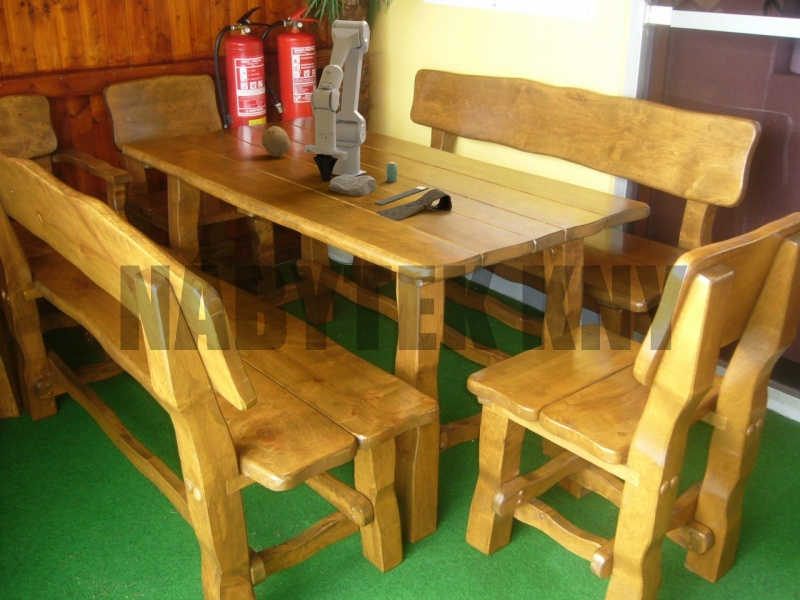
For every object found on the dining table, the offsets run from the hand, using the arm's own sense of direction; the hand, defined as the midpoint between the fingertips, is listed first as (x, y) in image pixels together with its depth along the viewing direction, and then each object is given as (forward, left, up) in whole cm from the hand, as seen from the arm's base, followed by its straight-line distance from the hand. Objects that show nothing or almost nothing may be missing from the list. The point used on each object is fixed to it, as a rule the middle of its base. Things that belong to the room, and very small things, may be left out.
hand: (326, 180), depth 234 cm
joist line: (+22, +7, -2) cm, 23 cm away
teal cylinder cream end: (+10, +18, -2) cm, 21 cm away
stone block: (+7, +2, -2) cm, 8 cm away
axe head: (+33, -4, -3) cm, 34 cm away
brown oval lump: (-37, +18, -2) cm, 41 cm away
